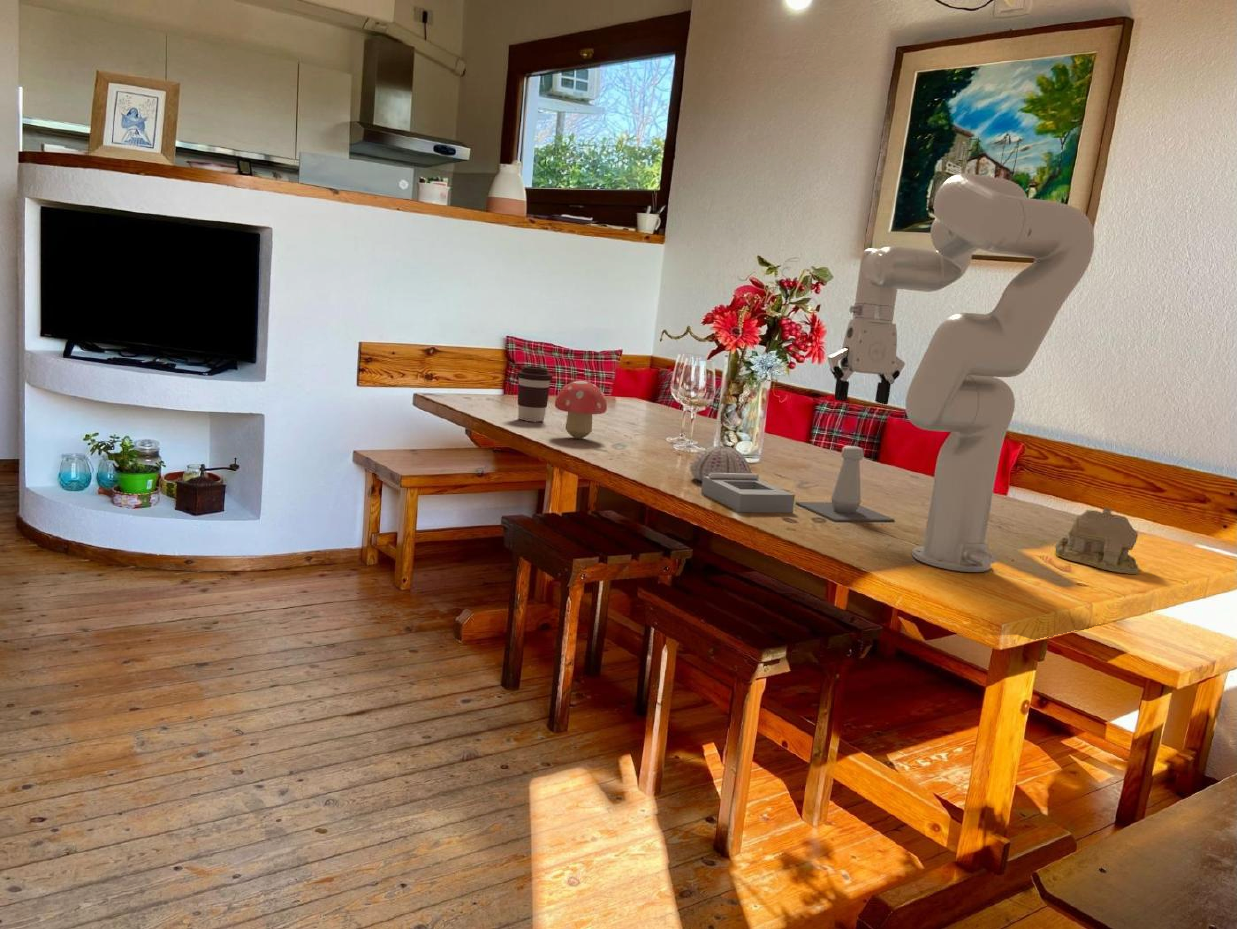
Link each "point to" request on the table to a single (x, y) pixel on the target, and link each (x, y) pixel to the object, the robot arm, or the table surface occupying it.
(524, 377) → the coffee cup
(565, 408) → the decorative mushroom
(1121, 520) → the ceramic model
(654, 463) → the table surface
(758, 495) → the caddy
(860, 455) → the salt shaker
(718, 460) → the sea urchin shell
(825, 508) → the mat
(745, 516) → the table surface
